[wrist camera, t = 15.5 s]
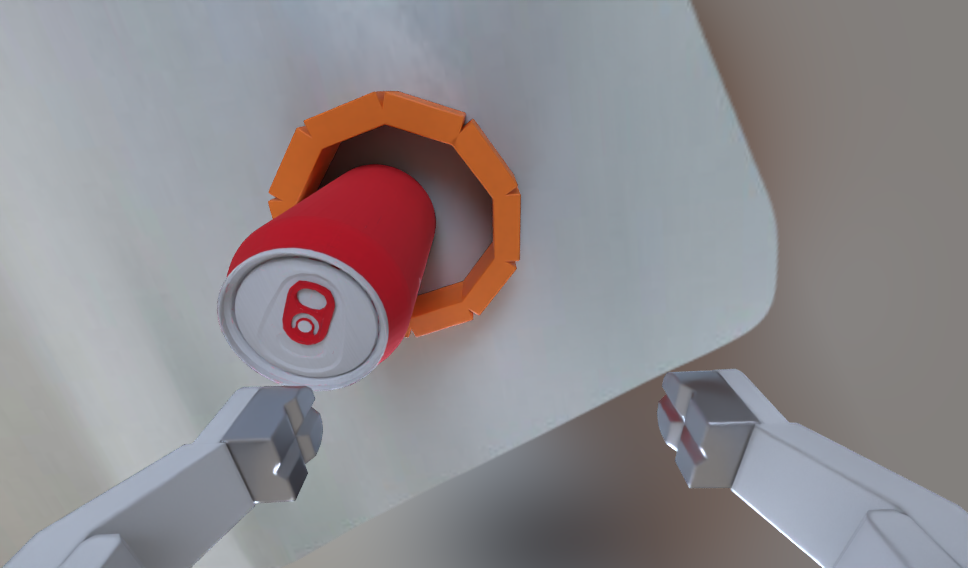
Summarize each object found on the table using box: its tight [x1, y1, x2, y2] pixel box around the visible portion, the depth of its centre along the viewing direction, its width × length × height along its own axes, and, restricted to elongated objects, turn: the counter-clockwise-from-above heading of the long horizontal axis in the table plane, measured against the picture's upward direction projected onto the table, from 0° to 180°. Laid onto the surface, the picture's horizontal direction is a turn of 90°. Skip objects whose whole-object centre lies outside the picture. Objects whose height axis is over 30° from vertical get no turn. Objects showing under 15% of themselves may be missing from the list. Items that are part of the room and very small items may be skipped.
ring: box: [268, 91, 521, 337], centre depth 22 cm, size 13×13×3 cm
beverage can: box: [217, 164, 436, 391], centre depth 17 cm, size 6×6×12 cm
